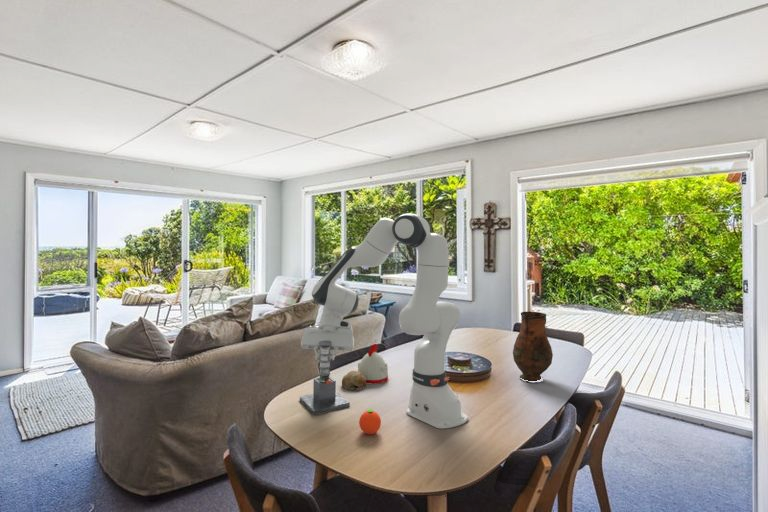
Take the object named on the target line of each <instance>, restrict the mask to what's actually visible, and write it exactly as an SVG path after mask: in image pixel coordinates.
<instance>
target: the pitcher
mask: <svg viewBox="0 0 768 512" xmlns="http://www.w3.org/2000/svg"><path fill="white" fill-rule="evenodd" d="M520 317H521V320H520V321H521V324H520V330H519V332H518V334H517V336H516V339H515V341H514V344H513V348H512V356H513V361H514V363H515V365H516V367H517V368H518V370H520V372H521V373H522V374H520V375H519V377H520V378H522V379H524V380H528V381H537V380H540V379H541V377H542V376H541V375H542V374H543V373H545V372H546V371H547V370H548V369H549V368H550V367H551V365H552V363H553V356H554V355H553V348H552V346H551V343H550V341H549V339H548V336H547V333H546V331H547V330H546V323H547V313H544V312H539V311H538V312H537V311H522V312H520ZM520 378H519V379H520Z"/></svg>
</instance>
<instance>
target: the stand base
mask: <svg viewBox="0 0 768 512" xmlns="http://www.w3.org/2000/svg"><path fill="white" fill-rule="evenodd" d="M329 378H330V380H326V381H325V382H323V383H321V382H320V381H319V379H320V376H319V377H315V378H313V386H312V387H313V393H310V394H306V395H301V396H299V401H300V403H301V404H302V405H304V407H305V408H306V409H307V410H308V411H309V412H310V413H311V414H312V415H313V416H315V415H316V416H317V415H319V414H320V415H321V414H324V413H328V412H332V411H336V410H337V411H338V410H340V409H345V408H348V407H350V406H351V403H350V401H348V399H346V398H345V397H343V396H342V395H341V394H340V393H339V392H338V391H336V390H337V389H336V387H337V385H336V384H337V382H336V380H335V378H332V376H330V375H329Z"/></svg>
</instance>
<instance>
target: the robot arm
mask: <svg viewBox="0 0 768 512" xmlns="http://www.w3.org/2000/svg"><path fill="white" fill-rule="evenodd" d="M398 243H401V244H404V245H406V246H409V247H411V248H416V250H417V270H416V271H417V273H416V283H415V287H414V291H413V293H412V295H411V297H410V299H409V301H408V303H407V304H406V305H405V306H404V307H403V308H401V310H400V312H399V315H398V324H399V327H400V329H401V330H402V331H403V332H404V333H405V334H407V335H412V336H421V335H423V336H422V338H421V340H420V341H419V343H417V345H416V346H415V348H414V352H413V353H414V356H413V358H414V360H413V368H412V373H411V375H412V381H413V383H412V386H411V388H410V393H409V401H408V402H409V403H408V408H407V409H406V415H408V416H411V417H413V418H414V419H417V420H419V421H421V422H423V423H426V424H428V425H430V426H432V427H433V428H436V429H450V428H455V427H458V426H461V425H464V424H465V423H467V422H468V420H469V416H468V415H467V414H466V413H464V411H462V406H461V405H462V404H461V401H460V399H459V396H458V395H457V394H456V393H455V392H454V391H453V389H452V388H451V386H450V385H449V384H448V381H449V380H451V379H449V378H450V376H447V374H446V370H445V364H446V363H445V361H446V350H447V345H448V343H449V340H450V338H451V335H452V333H453V331H454V330H455V328H456V327H457V326H458V325H459V323H460V321H461V313H460V309H459V307H458V306H457V305H456V304H455V303H453V302H449V301H445V300H443V301H442V300H441V301H440V300H439V299H440V296H441V294H442V293H443V292H444V291H446V289H447V288H448V284H449V283H448V281H449V265H450V264H449V263H450V261H449V260H450V257H449V256H450V255H449V246H448V245H449V243H448V239H446V237H445V236H443V235H442V234H439V233H432V225H431V223H430V221H429V220H428V219H427V218H426V217H424V216H421V215H419V214H416V213H403V214H401V215H399V216H397V217H396V218H395V220H393V219H391V218H387V217H382V218H380V219H379V220H378V221H377V222H376V223H375V224H374V225H373V226H372V227H371V228H370V230H369V232H368V233H367V234H366V236H365V237H364V239H363V240H362V242H361V243H359V244H358V245H356V246H353V247H351V246H350V247H349V248H348V249H347V250H345V251H344V253H342V255H341V256H340V257H339V258H337V260H336V261H335V263H334V264H333V265H332V266H331V267H330V269H329V270H328V271H327V272H326V273H325V274H324V275H323V276H322V277H321V278H320V279H319V280H318V281H317V282H316V284H315V285H314V286H313V289H312V291H311V297H312V299H313V301H314V303H315V304H316V305H317V304H318V305H321V306H323V308H322V315H321V317H320V322H319V326H318V325H317V326H312V325H309V326H307V327H305V328H304V329H303V332H302V336H301V339H300V340H301V341H300V346H301V348H302V349H304V350H314V353H315V356H314V359H315V360H319V359H320V355H319V353H320V346H319V342H320V341H331V346H330V351H333V352H332V353H330V361H335V357H336V356H337V355H338V353H339V351H343V352H344V351H346V352H352V351H353V350H354V347H355V337H354V330H353V324H352V323H350V322H349V321H345V320H344V317H348V316H350V315H352V314H354V313H355V312H356V310H357V309H358V307H359V301H360V300H359V299H360V298H359V295H358V293H357V292H356V291H354V290H352V289H350V288H348V287H345V286H343V285H341V284H338V283H336V282H337V280H339V278H340V277H341V276H342V275H343V273H345V271H346V270H348V269H349V268H353V267H355V268H356V267H363V268H374V267H379V266H381V265H382V264H384V263H385V262H386V260H387V259H388V258H389V255H390V254H391V252H392V251H393V249H394V247H395V246H396V245H397V244H398ZM438 300H439V301H438Z"/></svg>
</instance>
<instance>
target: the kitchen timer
mask: <svg viewBox="0 0 768 512" xmlns="http://www.w3.org/2000/svg"><path fill="white" fill-rule="evenodd" d="M378 347H379V346H378V344H377V343H374V344H371V345H370V348H369V351H368V352H367V353H366V354H364V356H363V357H362V359H361V360H360V362H358V364H357V371H358V372H360V373H361V374H362V375H363V376H364V377H365V379H366V384H367V383H372V384H371V385H376V384H375V383H378V384H382V382H383V383H385V382H387V381H388V380H389V372H388V370H389V369H388V368H389V367H388V363H387V362H385V360H384V358H383V357H382V356H381V354H379V353H378Z"/></svg>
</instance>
